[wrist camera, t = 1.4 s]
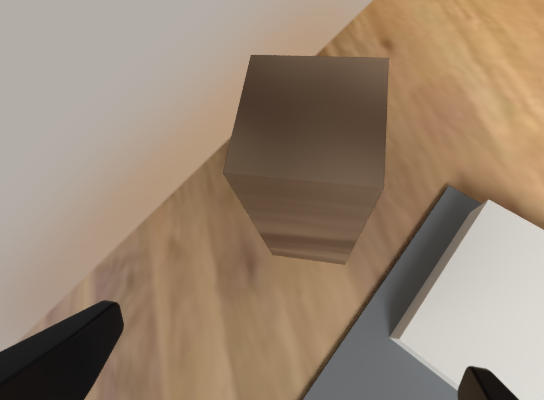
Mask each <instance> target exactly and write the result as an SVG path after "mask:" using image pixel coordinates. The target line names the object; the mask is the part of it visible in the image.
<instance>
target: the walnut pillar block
mask: <svg viewBox="0 0 544 400" xmlns="http://www.w3.org/2000/svg"><path fill="white" fill-rule="evenodd" d="M388 66H389V58H369V57H323V56H277V55H273V56H272V55H251V57H250V61H249V65H248V70H247V74H246V78H245V82H244V86H243V91H242V95H241V99H240V103H239V107H238V112H237V116H236V120H235V124H234V128H233V132H232V137H231V141H230V145H229V149H228V153H227V157H226V162H225V166H224V170H223V174H224V176H225V177H226V179H227V181H228V182H229V184H230V186H231V187H232V189H233V190H234V192H235V194H236V195H237V197H238V199H239V200H240V202H241V204H242V205H243V207H244V209H245V210H246V212H247V213H248V215H249V217H250V218H251V220H252V222H253V223H254V225H255V227H256V228H257V230H258V232H259V233H260V235H261V237H262V238H263V240H264V241H265V243H266V245H267V246H268V248H269V250H270V251H271V253H272V255H278V256H285V257H292V258H300V259H307V260H314V261H322V262H329V263H336V264H344V265H345V263H346V261H347V259H348V257H349V255H350V253H351V251H352V249H353V247H354V245H355V243H356V241H357V239H358V237H359V235H360V233H361V232H362V230H363V228H364V226H365V224H366V222H367V220H368V218H369V216H370V214H371V212H372V210H373V208H374V206H375V204H376V202H377V200H378V198H379V196H380V195H381V193H382V191H383V189H384V174H385V147H386V120H387V93H388Z"/></svg>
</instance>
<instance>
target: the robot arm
mask: <svg viewBox="0 0 544 400" xmlns="http://www.w3.org/2000/svg"><path fill="white" fill-rule="evenodd" d="M123 328H124V322H123V318H122V313H121V309H120V305H119V304H118V303H117V302H113V301H107V300H104V301H101V302H99V303H97V304H95V305H93V306H91V307H89V308H87V309H85V310H83V311H81V312H79V313H77V314H75V315H73V316H71V317H69V318H67V319H65V320H63V321H61V322H59V323H57V324H55V325H53V326H51V327H49V328H47V329H45V330H43V331H41V332H39V333H37V334H35V335H33V336H31V337H29V338H27V339H25V340H23V341H21V342H19V343H17V344H15V345H13V346H11V347H9V348H7V349H5V350H3V351H1V352H0V400H84V399H85V397H86V396H87V394H88V393H89V391H90V390H91V388H92V386H93V385H94V383H95V381H96V379H97V378H98V376H99V374H100V372H101V370H102V369H103V367H104V365H105V363H106V361H107V359H108V358H109V356H110V354H111V352H112V350H113V348H114V347H115V345H116V343H117V341H118V339H119V337H120V335H121V334H122V331H123ZM457 396H458V400H519V399H518V398H517V397H516V396H515V395H514V394H513V393H512V392H511V391H510V390H509V389H508V388H507V387H506V386H505V385H504V384H503V383H502V382H501V381H500V380H499V379H498V378H497V377H496V376H495V375H494V374H493V373H492V372H491V371H490V370H488V369H486V368H481V367H475V366H468V367H467V368H466V370H465V372H464V375H463V377H462V380H461V382H460V385H459V387H458V393H457Z"/></svg>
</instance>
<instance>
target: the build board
mask: <svg viewBox="0 0 544 400" xmlns="http://www.w3.org/2000/svg"><path fill="white" fill-rule="evenodd" d="M468 366H475V367H481V368H486V369H488V370H490V371H491V372H492V373H493V374H494V375H495V376H496V377H497V378H498V379H499V380H500V381H501V382H502V383H503V384H504V385H505V386H506V387H507V388H508V389H509V390H510V391H511V392H512V393H513V394H514V395H515V396H516V397H517V398H518V399H519V400H544V230H543V229H541V228H539V227H538V226H536V225H534V224H532V223H530V222H529V221H527V220H525V219H523V218H521V217H519V216H518V215H516V214H514V213H512V212H510V211H509V210H507V209H505V208H503V207H501V206H500V205H498V204H496V203H494V202H492V201H491V200H489V199H488V200H487V201H486V202H484V203H483V204H481V203H479V202H478V201H476V200H474V199H472V198H471V197H469V196H467V195H465V194H463V193H462V192H460V191H458V190H456V189H455V188H453V187H451V186H449V187H448V188H447V189H446V190H445V192H444V193H443V195H442V196H441V198H440V199H439V201H438V202H437V203H436V205H435V206H434V208H433V209H432V211H431V212H430V214H429V215H428V217H427V218H426V220H425V221H424V222H423V224H422V225H421V227H420V228H419V230H418V231H417V233H416V234H415V236H414V237H413V239H412V240H411V241H410V243H409V244H408V246H407V247H406V249H405V250H404V252H403V253H402V255H401V256H400V258H399V259H398V260H397V262H396V263H395V265H394V266H393V268H392V269H391V271H390V272H389V274H388V275H387V277H386V278H385V279H384V281H383V282H382V284H381V285H380V287H379V288H378V290H377V291H376V293H375V294H374V296H373V297H372V298H371V300H370V301H369V303H368V304H367V306H366V307H365V309H364V310H363V312H362V313H361V315H360V316H359V317H358V319H357V320H356V322H355V323H354V325H353V326H352V328H351V329H350V331H349V332H348V334H347V335H346V336H345V338H344V339H343V341H342V342H341V344H340V345H339V347H338V348H337V350H336V351H335V353H334V354H333V355H332V357H331V358H330V360H329V361H328V363H327V364H326V366H325V367H324V369H323V370H322V372H321V373H320V374H319V376H318V377H317V379H316V380H315V382H314V383H313V385H312V386H311V388H310V389H309V391H308V392H307V393H306V395H305V396H304V398H303V399H302V400H458V396H457V393H458V387H459V385H460V382H461V380H462V377H463V375H464V372H465V370H466V368H467V367H468Z"/></svg>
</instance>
